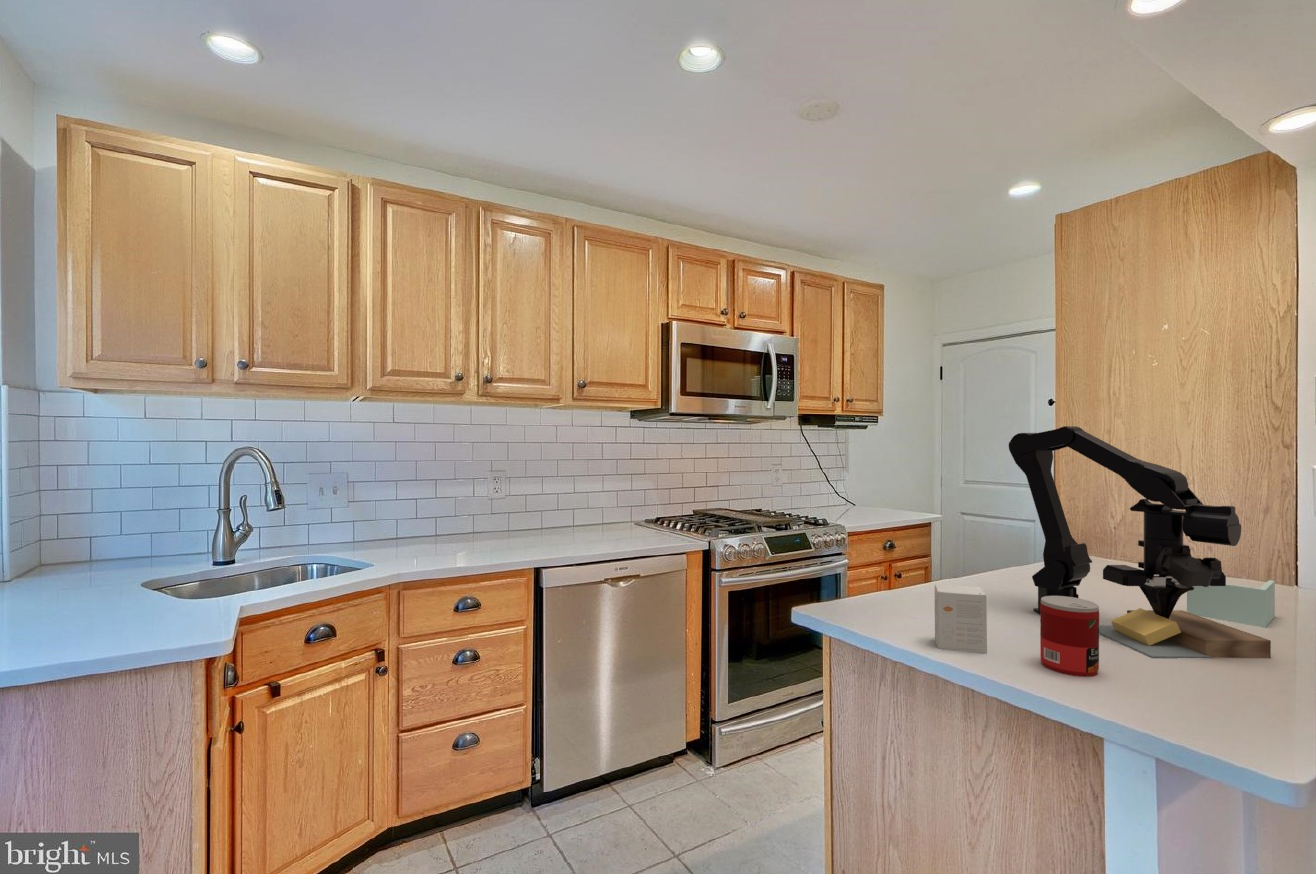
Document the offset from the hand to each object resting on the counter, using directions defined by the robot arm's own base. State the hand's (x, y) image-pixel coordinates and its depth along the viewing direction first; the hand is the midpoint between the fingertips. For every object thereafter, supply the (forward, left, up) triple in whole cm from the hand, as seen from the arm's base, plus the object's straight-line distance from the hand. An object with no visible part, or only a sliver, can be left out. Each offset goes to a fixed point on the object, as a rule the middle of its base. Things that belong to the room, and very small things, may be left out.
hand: (1162, 621), depth 115 cm
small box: (-39, -4, -4) cm, 40 cm away
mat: (-5, -1, -4) cm, 6 cm away
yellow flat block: (-3, 0, -2) cm, 3 cm away
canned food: (-27, -14, -4) cm, 30 cm away
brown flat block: (+5, 0, -4) cm, 7 cm away
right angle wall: (+27, +16, -4) cm, 32 cm away
